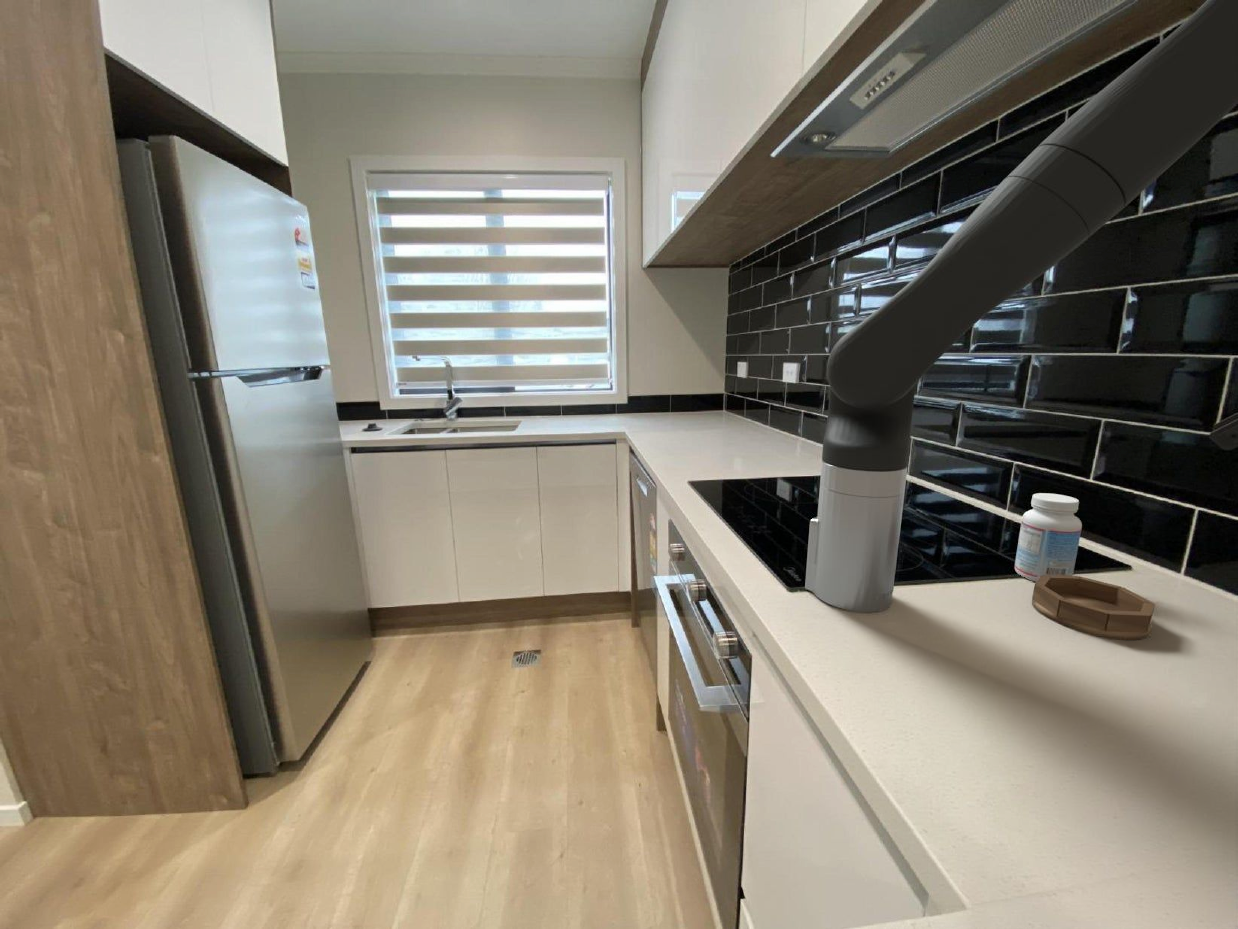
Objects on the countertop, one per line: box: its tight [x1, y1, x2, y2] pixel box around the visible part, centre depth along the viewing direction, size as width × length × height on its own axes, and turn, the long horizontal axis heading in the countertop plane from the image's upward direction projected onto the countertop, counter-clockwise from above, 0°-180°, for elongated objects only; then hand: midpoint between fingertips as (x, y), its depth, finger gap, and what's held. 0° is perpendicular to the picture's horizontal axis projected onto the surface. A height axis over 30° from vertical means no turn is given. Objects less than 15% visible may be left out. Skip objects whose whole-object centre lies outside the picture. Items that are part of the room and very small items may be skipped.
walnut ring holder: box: [1031, 575, 1156, 641], centre depth 57 cm, size 10×10×3 cm
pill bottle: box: [1014, 492, 1083, 583], centre depth 66 cm, size 6×6×11 cm
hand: (1217, 438), depth 53 cm, fingers open, 8 cm apart
